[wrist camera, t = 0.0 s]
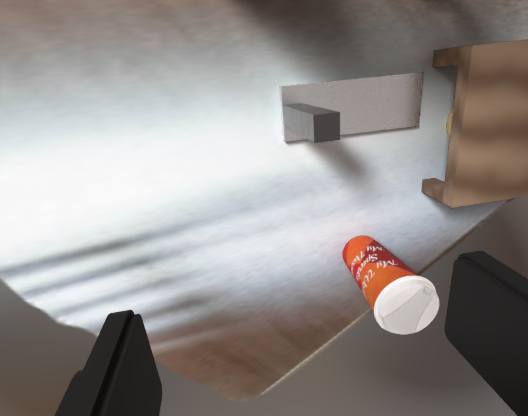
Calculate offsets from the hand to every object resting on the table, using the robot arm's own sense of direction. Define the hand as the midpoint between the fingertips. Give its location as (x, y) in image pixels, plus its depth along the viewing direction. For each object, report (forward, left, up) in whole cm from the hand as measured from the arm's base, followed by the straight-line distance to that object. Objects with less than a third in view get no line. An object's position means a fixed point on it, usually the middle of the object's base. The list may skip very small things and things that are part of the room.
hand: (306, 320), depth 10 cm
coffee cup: (+21, +18, -37) cm, 46 cm away
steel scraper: (-2, +16, -37) cm, 40 cm away
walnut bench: (+2, +34, -37) cm, 50 cm away
